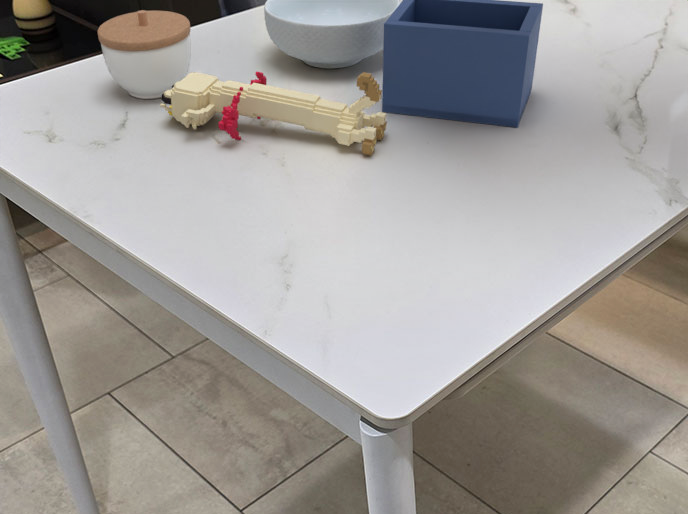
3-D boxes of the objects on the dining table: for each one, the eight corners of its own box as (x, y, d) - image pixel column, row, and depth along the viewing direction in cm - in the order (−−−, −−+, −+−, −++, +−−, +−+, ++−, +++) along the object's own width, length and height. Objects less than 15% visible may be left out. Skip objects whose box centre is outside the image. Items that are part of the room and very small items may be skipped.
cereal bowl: (425, 52, 109) (428, -4, 104) (339, 95, 100) (338, 36, 95) (327, 24, 118) (326, -28, 114) (240, 61, 109) (235, 5, 105)
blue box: (531, 90, 98) (543, 3, 92) (517, 127, 91) (529, 35, 85) (404, 77, 103) (407, -7, 97) (381, 111, 95) (383, 23, 89)
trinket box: (91, 91, 104) (76, 14, 98) (160, 64, 110) (149, -10, 104) (145, 115, 98) (132, 35, 92) (215, 85, 103) (207, 8, 98)
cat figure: (389, 135, 93) (185, 92, 100) (398, 59, 88) (181, 19, 95) (362, 178, 86) (143, 129, 93) (370, 98, 81) (137, 52, 87)
